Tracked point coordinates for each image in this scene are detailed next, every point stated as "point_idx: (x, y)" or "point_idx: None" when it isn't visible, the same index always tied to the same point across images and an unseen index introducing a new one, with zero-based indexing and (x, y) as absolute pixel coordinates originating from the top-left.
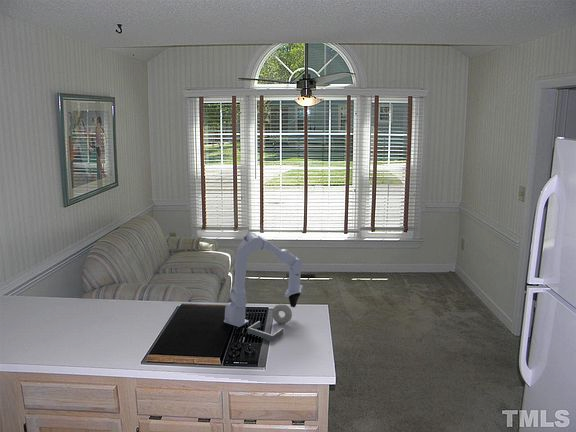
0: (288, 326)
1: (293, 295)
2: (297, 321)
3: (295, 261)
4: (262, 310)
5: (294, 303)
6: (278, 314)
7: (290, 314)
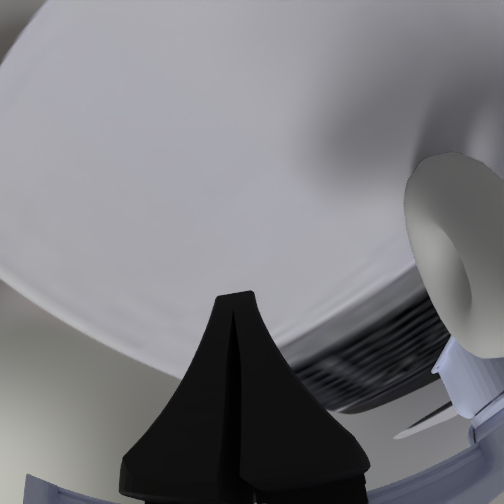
0: (433, 131)
1: (340, 482)
2: (299, 126)
3: None
4: (310, 375)
5: (270, 335)
6: (464, 273)
7: (496, 175)
